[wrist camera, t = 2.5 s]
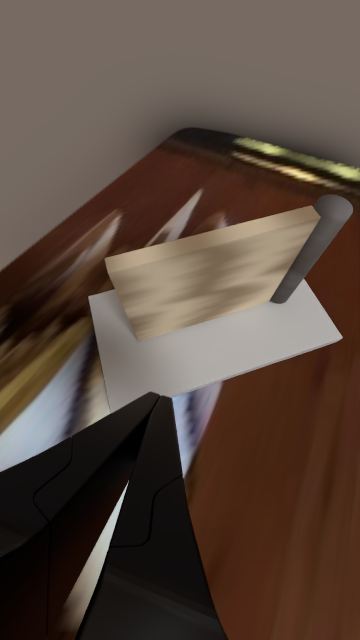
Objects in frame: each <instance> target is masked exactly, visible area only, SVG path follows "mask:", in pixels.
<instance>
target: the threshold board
mask: <svg viewBox="0 0 360 640" xmlns="http://www.w3.org/2000/svg"><path fill="white" fill-rule="evenodd" d="M88 298H89V303H90V308H91V313H92V318H93V324H94V329H95V334H96V339H97V344H98V349H99V355H100V360H101V365H102V370H103V375H104V381H105V386H106V391H107V396H108V401H109V406H110V412H111V413H113V412H114V411H116V410H118V409H120V408H121V407H123V406H125V405H127V404H128V403H130V402H132V401H134V400H135V399H137V398H139V397H141V396H142V395H144V394H146V393H148V392H150V391H152V392H155V393H158V394H160V396H161V395H164V396H167V397H171V398H173V397H176V396H179V395H182V394H185V393H188V392H191V391H194V390H196V389H199V388H202V387H205V386H208V385H211V384H214V383H217V382H220V381H223V380H226V379H229V378H232V377H235V376H238V375H241V374H244V373H247V372H249V371H252V370H255V369H258V368H261V367H264V366H267V365H270V364H273V363H276V362H279V361H282V360H285V359H288V358H291V357H294V356H297V355H300V354H303V353H305V352H308V351H311V350H314V349H317V348H320V347H323V346H326V345H329V344H332V343H335V342H337V341H339V340H340V339H342V338H343V337H342V336H341V334H340V333H339V331H338V330H337V328H336V327H335V325H334V324H333V322H332V321H331V319H330V318H329V316H328V315H327V313H326V312H325V310H324V309H323V307H322V306H321V304H320V303H319V301H318V299H317V298H316V296H315V295H314V293H313V292H312V290H311V289H310V287H309V286H308V284H307V283H306V281H305V280H304V279H303V280H302V281H301V283H300V284H299V285H298V287H297V288H296V289H295V291H294V292H293V293H292V295H291V296H290V297H289V299H288V300H287V301H286V302H285V303H282V304H276V303H273V302H271V301H270V300H269V302H268V303H265V304H262V305H258V306H255V307H252V308H248V309H245V310H242V311H239V312H235V313H232V314H229V315H225V316H222V317H219V318H216V319H212V320H209V321H206V322H202V323H199V324H196V325H192V326H189V327H186V328H183V329H179V330H176V331H173V332H169V333H166V334H163V335H160V336H156V337H153V338H150V339H146V340H143V341H140V342H139V341H138V339H137V337H136V335H135V332H134V330H133V328H132V326H131V323H130V321H129V319H128V317H127V314H126V312H125V310H124V308H123V305H122V303H121V301H120V299H119V297H118V294H117V292H116V290H115V289H114V290H110V291H107V292H103V293H99V294H96V295H92V296H88Z"/></svg>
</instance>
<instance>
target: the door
mask: <svg viewBox="0 0 360 640" xmlns="http://www.w3.org/2000/svg"><path fill="white" fill-rule="evenodd" d="M352 213H353V207H352V205H351V204H350V202H349V201H347V200H346V199H344V198H343V197H340V196H337V195H324V196H322V197H320V198H319V199H318V200H317V202H316V204H315V206H314V207H312V206H307V207H304V208H300V209H296V210H292V211H288V212H284V213H280V214H276V215H272V216H268V217H264V218H261V219H257V220H253V221H249V222H245V223H241V224H237V225H233V226H229V227H225V228H221V229H217V230H214V231H210V232H206V233H202V234H198V235H194V236H190V237H186V238H182V239H178V240H174V241H170V242H167V243H163V244H159V245H155V246H151V247H147V248H143V249H139V250H135V251H131V252H127V253H123V254H120V255H116V256H112V257H108V258H105V262H106V267H107V271H108V274H109V276H110V279H111V281H112V283H113V285H114V288H115V290H116V292H117V294H118V297H119V299H120V301H121V303H122V305H123V308H124V310H125V312H126V314H127V317H128V319H129V321H130V323H131V326H132V328H133V330H134V332H135V335H136V337H137V339H138V341H139V342H140V341H143V340H146V339H150V338H153V337H156V336H160V335H163V334H166V333H169V332H173V331H176V330H179V329H183V328H186V327H189V326H192V325H196V324H199V323H202V322H206V321H209V320H212V319H216V318H219V317H222V316H225V315H229V314H232V313H235V312H239V311H242V310H245V309H248V308H252V307H255V306H258V305H262V304H265V303H268V302H269V300H270V301H271V302H273V303H276V304H282V303H285V302H286V301H287V300H288V299H289V297H290V296H291V295H292V293H293V292H294V291H295V289H296V288H297V287H298V285H299V284H300V283H301V281H302V280H303V279H304V277H305V276H306V275H307V273H308V272H309V271H310V269H311V268H312V267H313V265H314V264H315V263H316V261H317V260H318V259H319V257H320V256H321V255H322V253H323V252H324V251H325V249H326V248H327V247H328V245H329V244H330V243H331V241H332V240H333V239H334V237H335V236H336V234H337V233H338V232H339V230H340V229H341V228H342V226H343V225H344V224H345V222H346V221H347V220H348V218H349V217H350V216H351V214H352Z"/></svg>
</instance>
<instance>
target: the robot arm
mask: <svg viewBox="0 0 360 640" xmlns="http://www.w3.org/2000/svg"><path fill="white" fill-rule="evenodd" d="M128 481H129V483H128ZM127 483H128V486H127V489H126V493H125V496H124V499H123V502H122V506H121V509H120V512H119V515H118V519H117V522H116V525H115V528H114V532H113V535H112V538H111V541H110V545H109V549H108V551H107V554H106V558H105V561H104V564H103V567H102V570H101V573H100V576H99V579H98V582H97V584H96V587H95V590H94V592H93V595H92V597H91V600H90V602H89V605H88V607H87V610H86V612H85V615H84V617H83V620H82V622H81V625H80V627H79V630H78V632H77V635H76V637H75V640H228V638H227V636H226V634H225V632H224V630H223V627H222V625H221V623H220V620H219V618H218V615H217V612H216V609H215V606H214V603H213V600H212V597H211V593H210V590H209V586H208V582H207V579H206V575H205V571H204V568H203V564H202V560H201V556H200V553H199V549H198V545H197V542H196V538H195V534H194V530H193V526H192V522H191V518H190V514H189V509H188V504H187V498H186V493H185V486H184V479H183V473H182V466H181V459H180V451H179V444H178V437H177V430H176V422H175V415H174V408H173V401H172V398H171V397H167V396H164V395H161V396H160V394H158V393H155V392H152V391H150V392H148V393H146V394H144V395H142V396H141V397H139V398H137V399H135V400H134V401H132V402H130V403H128V404H127V405H125V406H123V407H121V408H120V409H118V410H116V411H114V412H113V413H111V414H109V415H107V416H106V417H104V418H102V419H101V420H99V421H97V422H95V423H94V424H92V425H90V426H88V427H87V428H85V429H83V430H81V431H80V432H78V433H76V434H74V435H73V436H72V437H69V438H67V439H65V440H64V441H62V442H60V443H58V444H57V445H55V446H53V447H51V448H49V449H47V450H45V451H44V452H42V453H40V454H38V455H36V456H34V457H32V458H29V459H27V460H25V461H23V462H21V463H19V464H17V465H15V466H13V467H10V468H8V469H6V470H4V471H2V472H0V640H46V637H47V636H48V635H49V633H50V631H51V629H52V627H53V625H54V623H55V621H56V619H57V617H58V616H59V614H60V612H61V610H62V608H63V606H64V604H65V602H66V600H67V598H68V596H69V594H70V593H71V591H72V589H73V587H74V585H75V583H76V581H77V579H78V577H79V575H80V573H81V571H82V570H83V568H84V566H85V564H86V562H87V560H88V558H89V556H90V554H91V552H92V550H93V548H94V546H95V545H96V543H97V541H98V539H99V537H100V535H101V533H102V531H103V529H104V527H105V525H106V523H107V522H108V520H109V518H110V516H111V514H112V512H113V510H114V508H115V506H116V504H117V502H118V500H119V499H120V497H121V495H122V493H123V491H124V489H125V487H126V485H127Z"/></svg>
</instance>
